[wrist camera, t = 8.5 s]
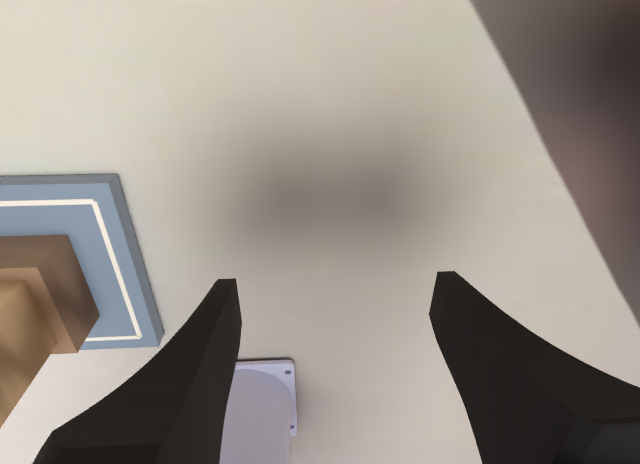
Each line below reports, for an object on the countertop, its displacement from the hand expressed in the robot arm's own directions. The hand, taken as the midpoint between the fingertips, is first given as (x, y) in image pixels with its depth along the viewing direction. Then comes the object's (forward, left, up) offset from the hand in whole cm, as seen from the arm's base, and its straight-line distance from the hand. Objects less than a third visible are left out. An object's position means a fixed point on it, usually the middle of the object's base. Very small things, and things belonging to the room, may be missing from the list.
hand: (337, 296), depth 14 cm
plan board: (-5, +17, -9) cm, 20 cm away
